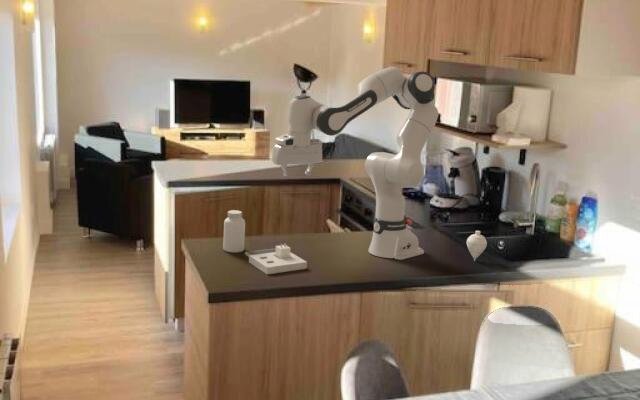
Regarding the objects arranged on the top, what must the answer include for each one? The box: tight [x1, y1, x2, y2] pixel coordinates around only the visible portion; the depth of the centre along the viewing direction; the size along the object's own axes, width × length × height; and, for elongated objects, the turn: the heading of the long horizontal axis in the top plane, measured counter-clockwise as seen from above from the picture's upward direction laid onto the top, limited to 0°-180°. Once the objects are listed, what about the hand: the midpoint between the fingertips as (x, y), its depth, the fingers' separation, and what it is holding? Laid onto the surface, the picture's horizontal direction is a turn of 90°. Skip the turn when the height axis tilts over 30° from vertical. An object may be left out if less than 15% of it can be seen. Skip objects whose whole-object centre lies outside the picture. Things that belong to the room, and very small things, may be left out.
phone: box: [244, 247, 276, 258], centre depth 253 cm, size 13×7×2 cm, turn 123°
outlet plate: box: [248, 251, 308, 275], centre depth 243 cm, size 16×14×3 cm
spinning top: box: [466, 230, 488, 262], centre depth 261 cm, size 8×8×12 cm
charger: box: [275, 242, 292, 259], centre depth 245 cm, size 4×4×7 cm
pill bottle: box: [222, 209, 246, 254], centre depth 256 cm, size 8×8×15 cm
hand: (296, 175), depth 256 cm, fingers open, 8 cm apart
